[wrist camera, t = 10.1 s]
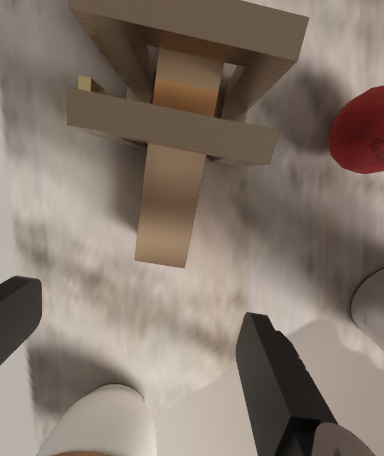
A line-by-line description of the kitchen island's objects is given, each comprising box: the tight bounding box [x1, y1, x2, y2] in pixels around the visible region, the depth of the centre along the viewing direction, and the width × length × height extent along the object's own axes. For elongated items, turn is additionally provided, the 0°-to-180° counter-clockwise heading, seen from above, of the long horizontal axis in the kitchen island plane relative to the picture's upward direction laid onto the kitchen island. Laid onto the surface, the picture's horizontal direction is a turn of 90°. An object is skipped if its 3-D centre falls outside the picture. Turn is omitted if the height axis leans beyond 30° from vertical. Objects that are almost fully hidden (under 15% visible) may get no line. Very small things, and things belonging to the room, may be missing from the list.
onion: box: [328, 86, 384, 174], centre depth 15 cm, size 6×6×8 cm
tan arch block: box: [67, 0, 309, 166], centre depth 14 cm, size 12×6×9 cm, turn 80°
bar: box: [134, 48, 224, 268], centre depth 16 cm, size 18×4×5 cm, turn 170°
